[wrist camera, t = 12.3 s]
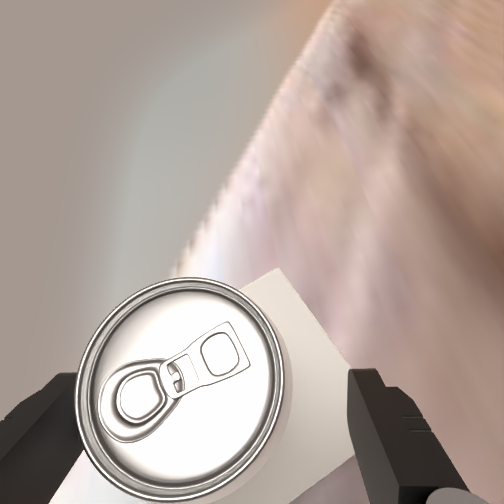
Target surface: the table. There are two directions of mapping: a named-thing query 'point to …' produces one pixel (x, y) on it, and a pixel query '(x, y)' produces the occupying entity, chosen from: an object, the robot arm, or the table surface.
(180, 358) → the can
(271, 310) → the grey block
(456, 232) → the table surface
